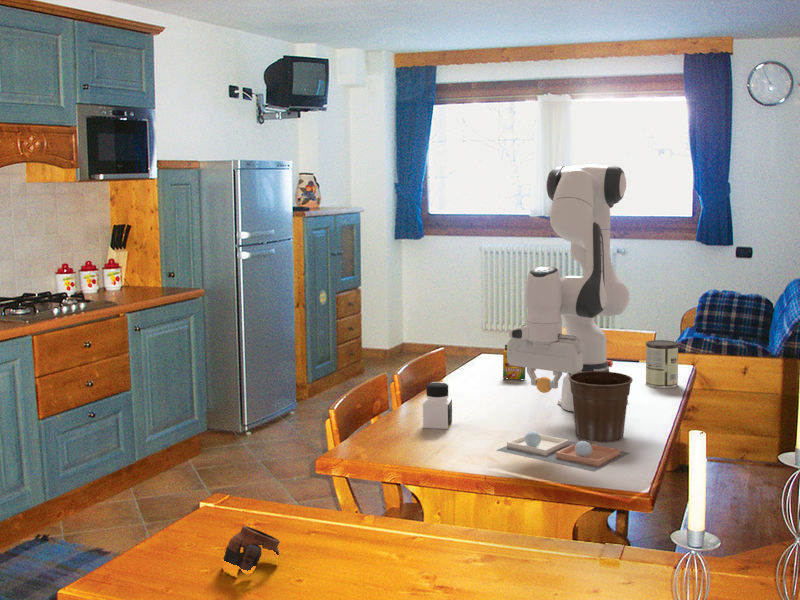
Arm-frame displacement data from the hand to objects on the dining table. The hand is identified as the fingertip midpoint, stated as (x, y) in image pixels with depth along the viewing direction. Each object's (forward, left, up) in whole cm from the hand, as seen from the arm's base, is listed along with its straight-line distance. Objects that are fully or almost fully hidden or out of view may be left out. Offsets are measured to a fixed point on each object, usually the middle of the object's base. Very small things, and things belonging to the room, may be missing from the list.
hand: (544, 386), depth 223 cm
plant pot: (-15, +7, -16) cm, 23 cm away
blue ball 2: (+5, +14, -12) cm, 19 cm away
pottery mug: (+95, -1, -16) cm, 96 cm away
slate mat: (+3, +7, -15) cm, 17 cm away
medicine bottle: (+1, -34, -16) cm, 37 cm away
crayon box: (-62, -50, -16) cm, 81 cm away
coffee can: (-83, -6, -16) cm, 85 cm away
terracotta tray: (+3, +14, -15) cm, 21 cm away
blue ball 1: (+5, 0, -12) cm, 14 cm away
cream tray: (+3, 0, -15) cm, 15 cm away
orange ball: (0, 0, 0) cm, 1 cm away
